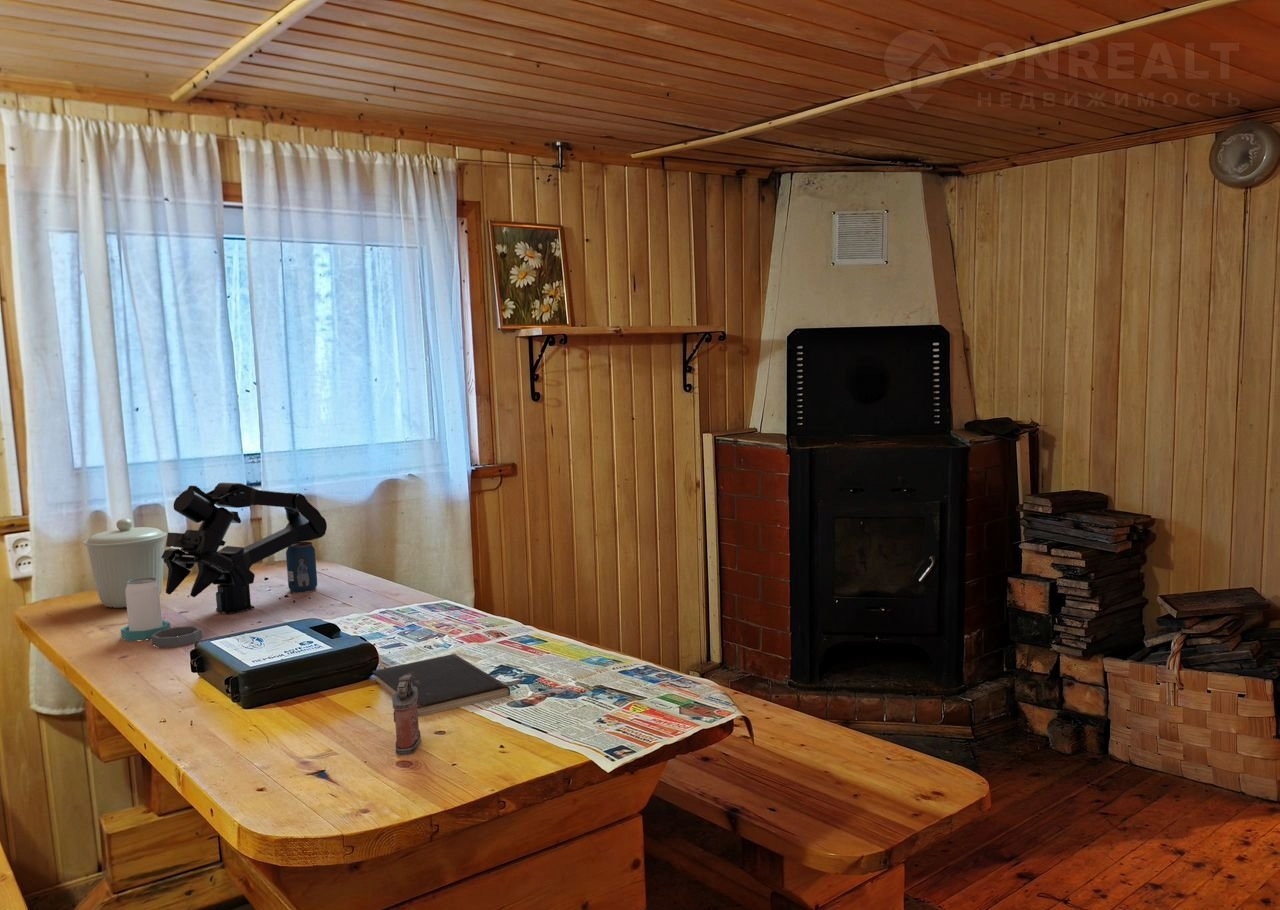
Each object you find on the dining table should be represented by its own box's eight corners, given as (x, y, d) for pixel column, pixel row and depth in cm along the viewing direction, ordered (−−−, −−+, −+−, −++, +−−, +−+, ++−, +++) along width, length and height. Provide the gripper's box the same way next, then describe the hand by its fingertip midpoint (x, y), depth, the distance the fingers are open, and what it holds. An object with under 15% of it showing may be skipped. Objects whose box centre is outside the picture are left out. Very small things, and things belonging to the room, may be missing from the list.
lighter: (401, 735, 149) (396, 670, 148) (423, 733, 149) (419, 669, 148) (392, 756, 141) (387, 688, 140) (416, 754, 141) (411, 686, 140)
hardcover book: (418, 720, 157) (417, 706, 156) (373, 683, 176) (372, 670, 176) (510, 698, 165) (509, 684, 165) (457, 665, 184) (457, 653, 184)
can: (139, 640, 209) (133, 585, 207) (124, 636, 213) (118, 581, 211) (169, 633, 214) (164, 578, 213) (153, 629, 218) (148, 575, 217)
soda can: (306, 586, 255) (303, 540, 254) (323, 589, 251) (320, 542, 250) (283, 592, 250) (279, 545, 249) (299, 595, 246) (296, 547, 244)
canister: (178, 603, 242) (170, 518, 239) (94, 616, 232) (85, 527, 229) (165, 590, 256) (158, 510, 254) (86, 602, 246) (78, 519, 244)
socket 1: (159, 627, 219) (158, 618, 219) (175, 633, 213) (174, 624, 213) (116, 636, 213) (116, 627, 213) (132, 643, 207) (132, 634, 207)
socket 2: (189, 633, 213) (188, 624, 213) (207, 639, 207) (206, 630, 207) (147, 642, 207) (146, 633, 207) (164, 650, 201) (163, 640, 201)
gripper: (159, 514, 226) (125, 577, 219) (208, 516, 216) (175, 582, 209) (197, 536, 234) (166, 597, 227) (247, 539, 224) (216, 603, 217)
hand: (179, 595), depth 220 cm, fingers open, 9 cm apart
